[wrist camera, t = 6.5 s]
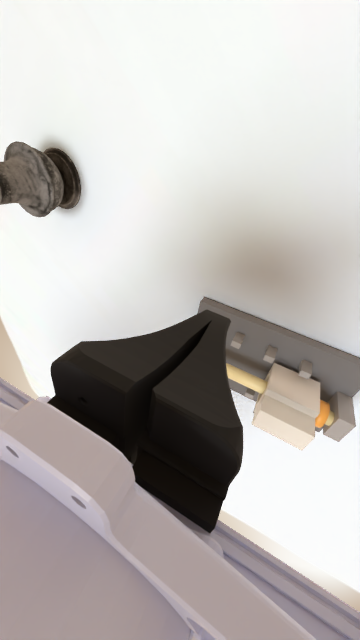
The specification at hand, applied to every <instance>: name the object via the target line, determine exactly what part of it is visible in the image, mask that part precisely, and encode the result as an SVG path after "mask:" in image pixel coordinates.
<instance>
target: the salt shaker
mask: <svg viewBox="0 0 360 640" xmlns="http://www.w3.org/2000/svg"><path fill="white" fill-rule="evenodd" d="M80 193H81V185H80V179H79V175H78V172H77V170H76V168H75V165H74V164H73V162H72V161H71V159H70V158H69V157H68V156H67V155H66V154H65V153H64V152H63V151H61V150H59V149H56V148H50V149H47V150H46V151H45V152H44V153H42V152H40V151H38V150H37V149H35V148H32V147H31V146H29V145H27V144H25V143H23V142H14V143H11V144H10V145H9V146H8V148H7V149H6V152H5V155H4V162H0V204H8V203H19V204H20V205H21V207H23V208H24V209H25V210H26V211H27V212H28V213H30V214H31V215H33V216H36V217H44V216H46V215H48V214H49V213H50V212H51V211H52V210H54V209H55V208H56V207H57V206H59V207H61V208H65V209H69V208H73V207H74V206H76V204H77V203H78V201H79V198H80Z"/></svg>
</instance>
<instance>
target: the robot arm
mask: <svg viewBox="0 0 360 640" xmlns="http://www.w3.org/2000/svg"><path fill="white" fill-rule="evenodd" d="M230 323H231V320H230V319H229V318H227V317H224V316H222V315H220V314H217V313H215V312H212V311H210V310H204V311H202V312H200V313H198V314H197V315H195V316H193V317H191V318H189V319H187V320H185V321H182V322H180V323H178V324H176V325H173V326H171V327H168V328H166V329H163V330H160V331H157V332H154V333H150V334H146V335H142V336H137V337H132V338H126V339H119V340H109V341H84V342H80V343H78V344H77V345H75V346H74V347H73V348H71V349H70V350H69V351H67V352H66V353H64V354H63V355H62V356H60V357H59V358H58V359H56V360H55V361H54V362H53V363H52V365H51V377H52V381H53V385H54V390H55V394H56V395H55V396H54V397H53V398H52V399H51V398H50V397H48V396H46V397H39V398H37V399H36V400H34V399H32V398H31V397H30V396H28V395H26V394H25V393H23V392H22V391H20V390H19V389H17V388H16V387H14V386H13V385H11V384H10V383H8V382H7V381H5V380H4V379H2V378H0V640H360V612H358V611H357V610H355V609H354V608H352V607H351V606H349V605H348V604H346V603H345V602H343V601H342V600H340V599H339V598H337V597H336V596H334V595H332V594H331V593H329V592H328V591H326V590H325V589H323V588H322V587H320V586H319V585H317V584H315V583H314V582H313V581H311V580H309V579H308V578H306V577H305V576H303V575H302V574H300V573H299V572H297V571H296V570H294V569H293V568H291V567H290V566H288V565H287V564H285V563H283V562H282V561H280V560H279V559H277V558H276V557H274V556H273V555H271V554H270V553H268V552H267V551H265V550H264V549H262V548H261V547H259V546H257V545H256V544H254V543H253V542H251V541H250V540H248V539H247V538H245V537H244V536H242V535H241V534H239V533H237V532H236V531H234V530H233V529H231V528H230V527H228V526H227V525H225V524H224V523H222V522H221V521H219V520H218V516H219V513H220V510H221V506H222V503H223V500H224V499H225V497H226V494H227V491H228V487H229V485H230V483H231V482H232V481H233V479H234V478H235V476H236V475H237V474H238V472H239V470H240V467H241V463H242V455H243V427H242V424H241V422H240V419H239V416H238V414H237V411H236V408H235V405H234V401H233V398H232V394H231V390H230V386H229V381H228V375H227V368H226V336H227V331H228V329H229V326H230Z"/></svg>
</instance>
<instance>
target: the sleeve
mask: <svg viewBox="0 0 360 640" xmlns="http://www.w3.org/2000/svg"><path fill="white" fill-rule="evenodd" d="M265 381H267V382H268V383H267V387H266V390H265V391H264V393H263V394H261V393H259V394H258V398H257V401H256V405H255V408H254V412H253V413H254V417H253V421H252V425H254V426H256V427H258V428H260V429H262V430H264V431H266V432H267V433H269V434H271V435H273V436H275V437H277V438H279V439H281V440H283V441H285V442H287V443H289V444H291V445H293V446H294V447H296V448H298V449H300V450H303V449H304V448H305V447H306V446H307V445H308V444H309V443H310V442H311V441H312V440H313V439H314V438H315V418H316V417H317V416H318V415H319V414H320V382H317V381H315V380H313V379H310V378H309V379H306V378H304V377H301V376H299V375H298V373H297V372H294V371H292V370H290V369H288V368H285V367H283V366H281V365H278V364H276V363H274V364H273V365H272V367H271V369H270V371H269V373H268V374H267V376H266V378H265Z"/></svg>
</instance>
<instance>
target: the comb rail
mask: <svg viewBox="0 0 360 640" xmlns="http://www.w3.org/2000/svg"><path fill="white" fill-rule="evenodd" d="M204 310H210V311H212V312H215V313H217V314H220V315H222V316H224V317H227V318H229V319H230V320H231V323H230V326H229V329H228V331H227V336H226V368H227V375H228V381H229V386H230V389H232V390H234V391H236V392H238V393H240V394H242V395H244V396H245V397H247V398H249V399H251V400H254V401H257V398H258V394H259V393H261V394H263V393H264V391H265V390H266V387H267V383H268V382H267V381H265V378H266V376H267V374H268V373H269V371H270V369H271V367H272V365H273V364H274V363H276V364H278V365H281V366H283V367H285V368H288V369H290V370H292V371H294V372H297V373H298V375H299V376H301V377H304V378H306V379H309V378H310V379H313V380H315V381H317V382H320V414H319V415H318V416H317V417H316V418H315V431H317V432H320V431H321V430H322V429H323V434H324V435H326V436H328V437H330V438H332V439H334V440H336V441H338V442H339V441H340V440H341V439H342V438H343V437H344V436H346V435H347V434H348V433H349V432H350V431H351V430H352V429H353V428H354V427H355V426H356V424H355V416H354V408H353V400H352V397H353V396H354V395H355V394H356V393H357V392H358V391H359V390H360V358H358V357H356V356H353V355H351V354H348V353H345V352H343V351H340V350H338V349H335V348H333V347H330V346H328V345H325V344H323V343H320V342H318V341H315V340H312V339H310V338H307V337H305V336H302V335H300V334H297V333H295V332H292V331H290V330H287V329H284V328H282V327H279V326H277V325H274V324H272V323H269V322H267V321H264V320H262V319H259V318H256V317H254V316H251V315H249V314H246V313H244V312H241V311H239V310H236V309H234V308H231V307H228V306H226V305H223V304H221V303H218V302H216V301H213V300H211V299H208V298H206V297H204V298H203V299H202V300H201V302H200V306H199V310H198V313H200V312H202V311H204Z"/></svg>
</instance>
